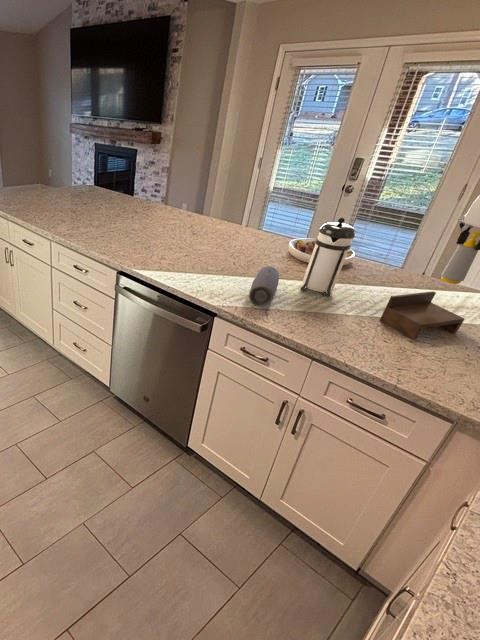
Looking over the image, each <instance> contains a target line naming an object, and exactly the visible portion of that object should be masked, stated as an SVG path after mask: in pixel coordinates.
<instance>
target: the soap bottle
mask: <svg viewBox="0 0 480 640" xmlns="http://www.w3.org/2000/svg"><path fill="white" fill-rule="evenodd" d="M470 233H473V234H472V236H471V238H468V239H467V240H466V242H465V243H464V244H458V246H457V247H456V248H455V251H454V252H453V254H452V255H451V257H450V259H449V260H448V262H447V264H446V265H445V267H444V269H443V271H442V273H441V274H440V276H441V281H443V282H445V283H448V284H454V285H458V284H459V285H460V284H461V282H464V280H465V279H466V277H467V275H468V273H469V271H470V269H471V267H472V264H473V262H474V261H475V258H476V256H477V254H478V252H479V250H475V247H476V245H477V244H478V243H477V239H476V238H478V237H480V231H474V230H470Z"/></svg>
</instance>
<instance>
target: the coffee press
mask: <svg viewBox="0 0 480 640" xmlns="http://www.w3.org/2000/svg"><path fill="white" fill-rule="evenodd" d="M345 221H346V219H345V217H339V219H337V222H332V221H331V222H327V223H324V224H323V225H322V226H320V227H319V229H318V235H317V237H316V238H315V239H316V242H315V243H316V244H315V247H314V250H313V253H312V256H311V258H310V261H309V263H307V267H306V270H305V274H304V276H303V279H302V284H303V285H302V286H301V287H300V289H299V290H300V291H301V292H303V293H305V292H306V291H307V290H311V291H313V292H314V291H315V292H318V293H319V292H320V293H323V294H324V297H325V298H330V297H331V291H332V290H334V288H335V286H336V283H337V281H338V278H339V276H340V273H341V270H342V268H343V266H344V265H343V263H344V261H345V258H346V255H347V253H348V250H349V249H351V247H352V243H353V240H354V239H355V238H356V230H355V228H354V227H352V226H351V225H349V224H346V223H345Z"/></svg>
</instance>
